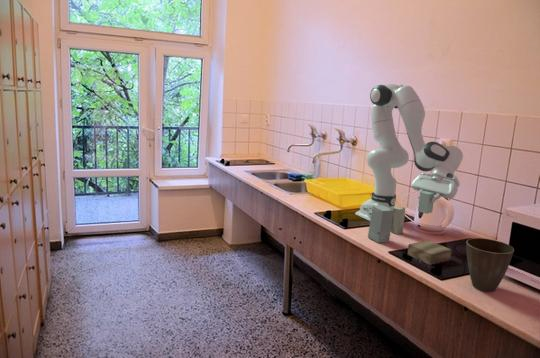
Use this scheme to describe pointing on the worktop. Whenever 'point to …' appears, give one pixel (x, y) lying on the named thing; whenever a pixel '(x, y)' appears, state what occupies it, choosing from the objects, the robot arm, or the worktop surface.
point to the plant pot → (487, 262)
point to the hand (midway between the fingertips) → (425, 200)
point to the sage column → (425, 202)
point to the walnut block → (429, 252)
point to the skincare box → (380, 224)
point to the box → (398, 220)
